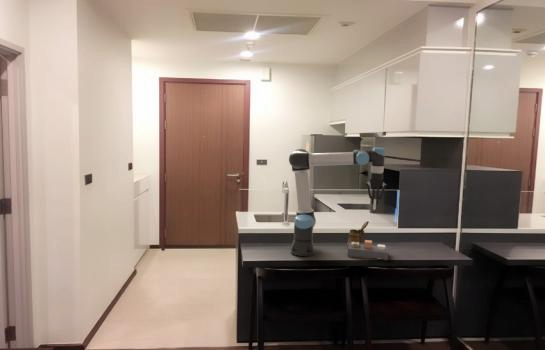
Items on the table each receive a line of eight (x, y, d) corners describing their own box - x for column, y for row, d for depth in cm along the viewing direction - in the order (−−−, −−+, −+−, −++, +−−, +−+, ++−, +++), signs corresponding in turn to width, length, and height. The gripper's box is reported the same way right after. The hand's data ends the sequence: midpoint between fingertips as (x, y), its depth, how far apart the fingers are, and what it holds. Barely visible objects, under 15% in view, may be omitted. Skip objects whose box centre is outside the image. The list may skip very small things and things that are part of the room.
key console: (347, 256, 250) (348, 248, 250) (348, 250, 262) (349, 242, 261) (387, 260, 245) (388, 252, 244) (386, 254, 257) (387, 246, 256)
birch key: (351, 251, 253) (351, 243, 253) (351, 248, 258) (351, 241, 257) (358, 251, 252) (358, 244, 252) (358, 249, 257) (358, 242, 256)
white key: (377, 253, 250) (377, 246, 249) (377, 251, 254) (377, 244, 253) (384, 254, 249) (385, 247, 248) (384, 252, 253) (385, 244, 252)
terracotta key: (364, 249, 251) (364, 242, 251) (364, 247, 256) (364, 239, 255) (371, 250, 250) (372, 242, 250) (371, 248, 255) (372, 240, 254)
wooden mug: (368, 249, 265) (370, 222, 262) (347, 248, 265) (349, 222, 263) (365, 245, 274) (367, 219, 271) (345, 244, 274) (347, 218, 272)
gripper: (366, 172, 250) (363, 209, 253) (388, 174, 246) (385, 211, 250) (366, 171, 257) (363, 207, 260) (387, 172, 254) (384, 209, 257)
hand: (374, 209), depth 255 cm, fingers closed
